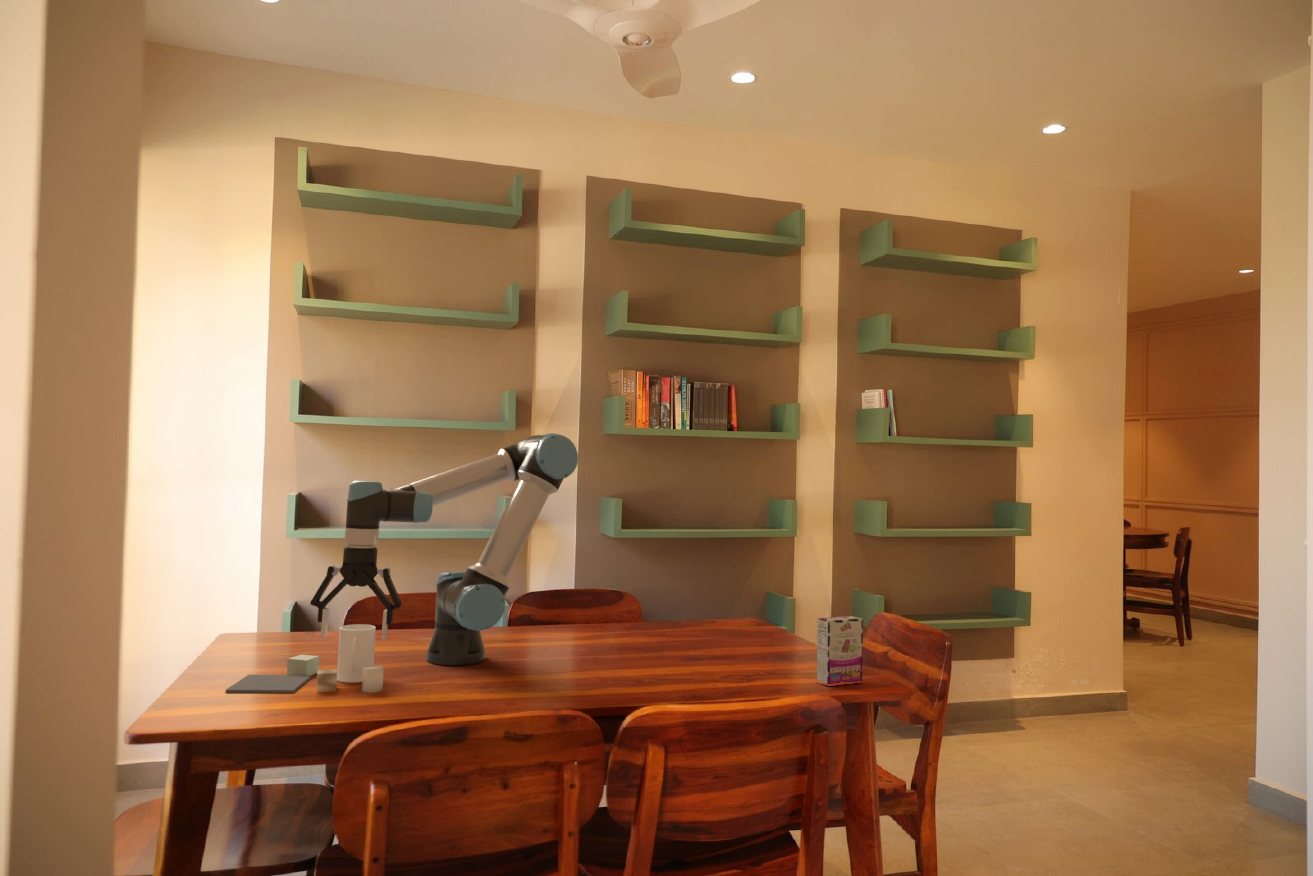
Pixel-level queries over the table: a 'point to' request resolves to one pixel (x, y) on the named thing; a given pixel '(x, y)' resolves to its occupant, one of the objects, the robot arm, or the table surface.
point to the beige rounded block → (372, 679)
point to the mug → (355, 651)
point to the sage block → (303, 665)
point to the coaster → (269, 684)
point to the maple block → (326, 680)
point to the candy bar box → (839, 649)
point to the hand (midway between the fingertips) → (354, 637)
